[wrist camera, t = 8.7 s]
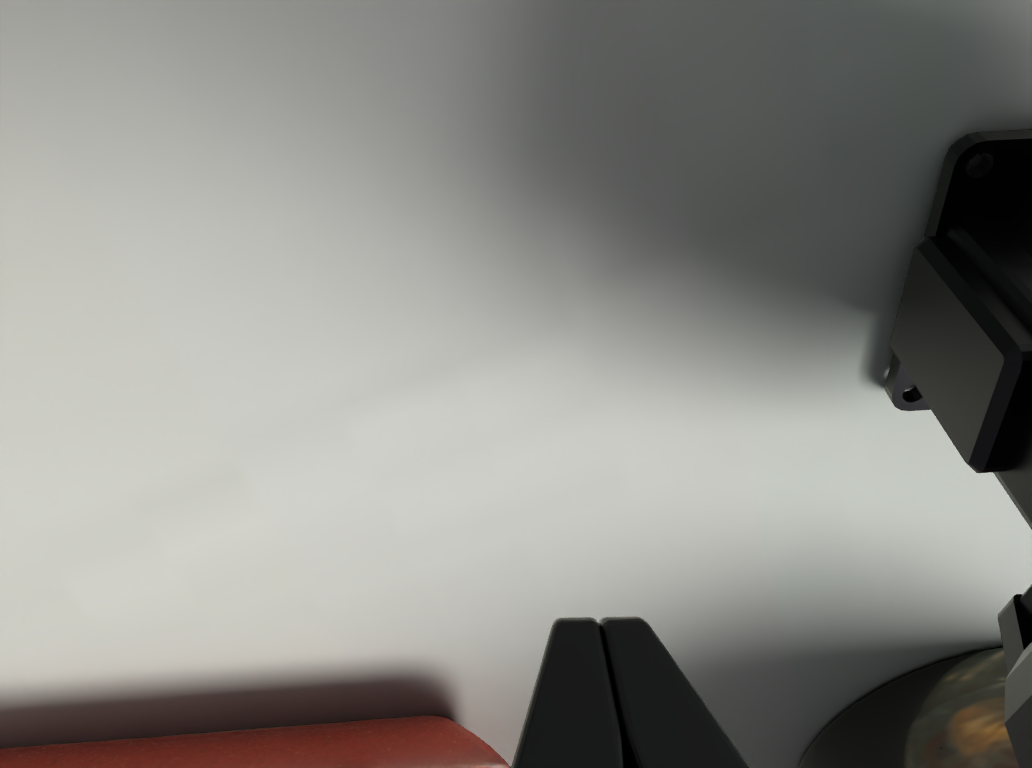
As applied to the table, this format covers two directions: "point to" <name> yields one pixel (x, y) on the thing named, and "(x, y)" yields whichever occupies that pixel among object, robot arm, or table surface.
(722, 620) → the table surface
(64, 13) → the table surface
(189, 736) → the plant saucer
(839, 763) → the jar
